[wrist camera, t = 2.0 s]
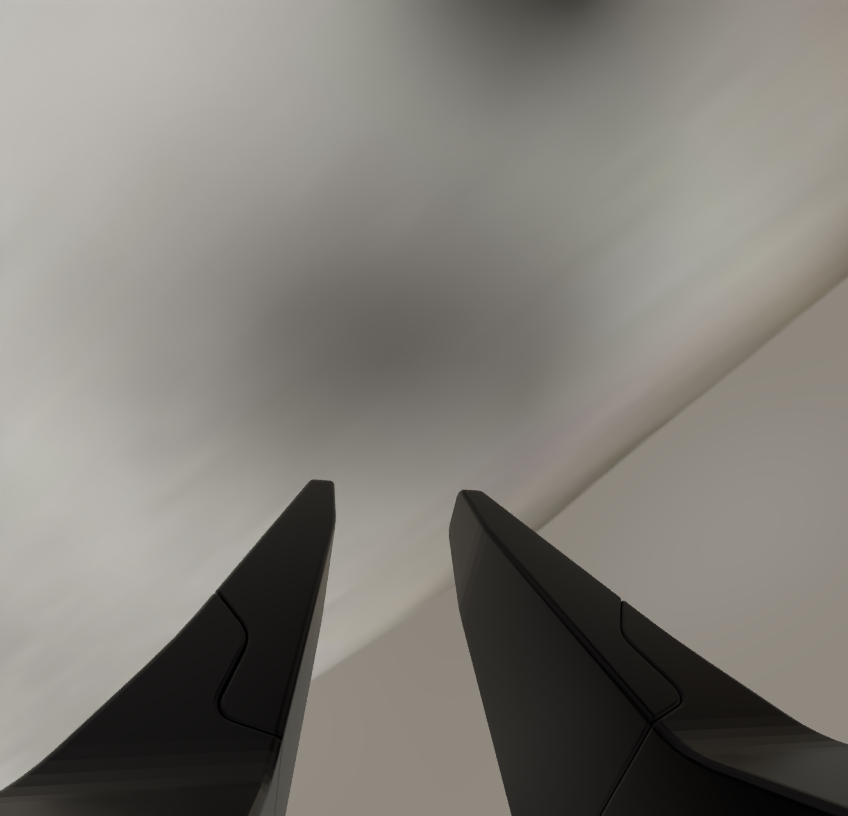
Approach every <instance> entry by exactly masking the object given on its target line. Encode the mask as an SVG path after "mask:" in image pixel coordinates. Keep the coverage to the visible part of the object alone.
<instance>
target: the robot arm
mask: <svg viewBox="0 0 848 816" xmlns="http://www.w3.org/2000/svg"><path fill="white" fill-rule="evenodd" d="M335 522H336V510H335V488H334V483H333V482H332V481H327V480H311V481H309V482H308V484H307V485H306V486H305V487H304V488H303V489H302V491H301V492H300V493H299V494H298V495H297V496H296V498H295V499H294V500H293V501H292V502H291V503H290V505H289V506H288V507H287V508H286V509H285V510H284V512H283V513H282V514H281V515H280V516H279V518H278V519H277V520H276V521H275V522H274V523H273V525H272V526H271V527H270V528H269V529H268V530H267V532H266V533H265V534H264V535H263V536H262V537H261V539H260V540H259V541H258V542H257V543H256V545H255V546H254V547H253V548H252V549H251V550H250V552H249V553H248V554H247V555H246V556H245V557H244V559H243V560H242V561H241V562H240V563H239V564H238V566H237V567H236V568H235V569H234V570H233V571H232V573H231V574H230V575H229V576H228V577H227V579H226V580H225V581H224V582H223V583H222V584H221V586H220V587H219V588H218V589H217V590H216V592H215V594H213V595H212V596H211V597H210V598H209V599H208V600H207V602H206V603H205V604H204V605H203V606H202V608H201V609H200V610H199V611H198V612H197V613H196V614H195V616H194V617H193V618H192V619H191V620H190V621H189V622H188V623H187V624H186V625H185V626H184V628H183V629H182V630H181V631H180V632H179V633H178V634H177V635H176V636H175V637H174V638H173V639H172V640H171V641H170V642H169V643H168V644H167V645H166V646H165V647H164V648H163V649H162V650H161V651H160V652H159V653H158V654H157V655H156V656H155V657H154V658H153V659H152V660H151V661H150V662H149V663H148V664H147V665H146V666H144V667H143V668H142V669H141V670H140V671H139V672H138V673H137V674H136V675H135V676H134V677H133V678H132V679H130V680H129V681H128V682H127V683H126V684H125V685H124V686H123V687H122V688H121V689H120V690H119V691H118V692H116V693H115V694H114V695H113V696H112V697H111V698H110V699H109V700H108V701H107V702H106V703H105V704H103V705H102V706H101V707H100V708H99V709H98V710H97V711H96V712H95V713H94V714H93V715H92V716H91V717H89V718H88V719H87V720H86V721H85V722H84V723H83V724H82V725H81V726H80V727H79V728H78V729H76V730H75V731H74V732H73V733H72V734H71V735H70V736H69V737H68V738H67V739H66V740H65V741H63V742H62V743H61V744H60V745H59V746H58V747H57V748H56V749H55V750H54V751H53V752H51V753H50V754H49V755H48V756H47V757H46V758H45V759H43V760H42V761H41V762H40V763H39V764H37V765H36V766H35V767H33V768H32V769H31V770H30V771H28V772H27V773H26V774H24V775H23V776H22V777H20V778H19V779H17V780H16V781H15V782H13V783H12V784H10V785H9V786H7V787H6V788H4V789H3V790H1V791H0V816H285V814H286V809H287V803H288V798H289V793H290V787H291V782H292V777H293V771H294V766H295V760H296V755H297V750H298V745H299V739H300V734H301V728H302V722H303V718H304V712H305V706H306V702H307V696H308V691H309V686H310V680H311V675H312V670H313V664H314V659H315V653H316V648H317V643H318V637H319V632H320V627H321V621H322V615H323V608H324V601H325V594H326V587H327V580H328V573H329V565H330V558H331V551H332V544H333V537H334V530H335ZM449 540H450V547H451V555H452V562H453V570H454V577H455V585H456V592H457V599H458V605H459V611H460V616H461V620H462V624H463V628H464V632H465V636H466V640H467V644H468V647H469V652H470V656H471V659H472V662H473V667H474V671H475V675H476V679H477V683H478V686H479V691H480V695H481V698H482V702H483V706H484V710H485V714H486V718H487V722H488V726H489V729H490V733H491V737H492V741H493V745H494V749H495V753H496V757H497V761H498V765H499V769H500V772H501V776H502V780H503V784H504V788H505V792H506V796H507V800H508V804H509V807H510V811H511V815H512V816H848V744H845V743H842V742H839V741H836V740H834V739H831V738H829V737H827V736H825V735H822V734H820V733H818V732H816V731H814V730H812V729H810V728H809V727H807V726H805V725H803V724H801V723H800V722H798V721H796V720H795V719H793V718H792V717H790V716H789V715H787V714H786V713H784V712H783V711H781V710H780V709H778V708H776V707H775V706H773V705H772V704H771V703H769V702H768V701H766V700H765V699H763V698H762V697H760V696H759V695H757V694H756V693H754V692H753V691H751V690H750V689H748V688H747V687H745V686H744V685H742V684H741V683H739V682H738V681H737V680H735V679H734V678H732V677H730V676H729V675H728V674H726V673H724V672H723V671H722V670H720V669H719V668H717V667H716V666H714V665H713V664H711V663H710V662H708V661H706V660H705V659H704V658H702V657H701V656H699V655H698V654H696V653H695V652H694V651H692V650H691V649H689V648H688V647H686V646H685V645H684V644H682V643H681V642H679V641H678V640H676V639H675V638H673V637H672V636H671V635H669V634H668V633H667V632H665V631H664V630H663V629H661V628H660V627H658V626H657V625H656V624H654V623H653V622H651V621H650V620H649V619H648V618H646V617H645V616H644V615H642V614H641V613H640V612H638V611H637V610H636V609H635V608H633V607H632V606H631V605H629V604H628V603H627V602H626V601H622V602H621V598H620V597H619V596H617V595H616V594H615V593H613V592H612V591H611V590H610V589H608V588H607V587H606V586H604V585H603V584H602V583H600V582H599V581H598V580H597V579H595V578H594V577H593V576H591V575H590V574H589V573H588V572H586V571H585V570H584V569H582V568H581V567H580V566H578V565H577V564H576V563H575V562H573V561H572V560H570V559H569V558H568V557H567V556H565V555H564V554H563V553H561V552H560V551H559V550H557V549H556V548H555V547H554V546H552V545H551V544H550V543H548V542H547V541H546V540H545V539H543V538H542V537H541V536H539V535H538V534H537V533H535V532H534V531H533V530H532V529H530V528H529V527H528V526H526V525H525V524H524V523H522V522H521V521H520V520H519V519H517V518H516V517H515V516H513V515H512V514H511V513H509V512H508V511H507V510H505V509H504V508H503V507H502V506H500V505H499V504H498V503H496V502H495V501H494V500H492V499H491V498H490V497H489V496H487V495H486V494H485V493H483V492H482V491H477V490H461V491H460V492H459V493H458V495H457V499H456V503H455V506H454V510H453V514H452V518H451V522H450V527H449Z"/></svg>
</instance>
